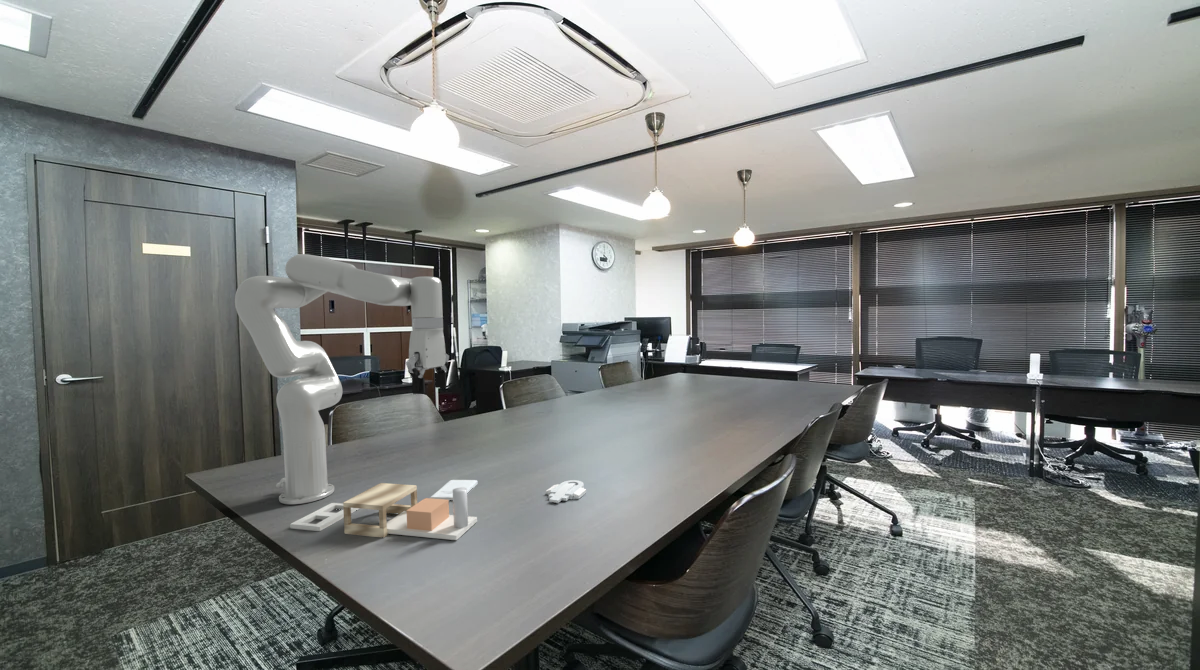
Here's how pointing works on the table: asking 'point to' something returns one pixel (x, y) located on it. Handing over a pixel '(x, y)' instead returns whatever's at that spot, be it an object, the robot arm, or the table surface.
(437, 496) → the external hard drive
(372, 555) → the table surface
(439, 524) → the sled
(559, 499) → the toy rocket
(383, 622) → the table surface
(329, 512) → the frame
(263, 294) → the robot arm
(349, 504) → the tunnel
